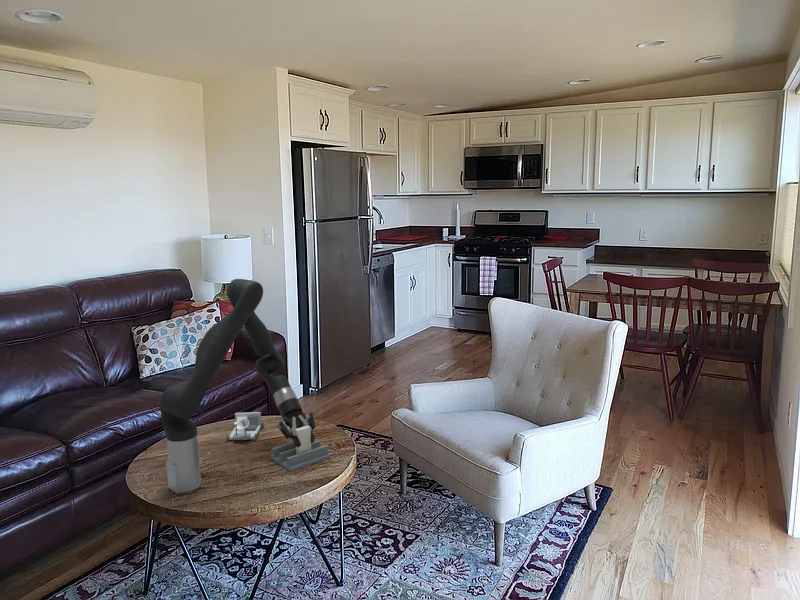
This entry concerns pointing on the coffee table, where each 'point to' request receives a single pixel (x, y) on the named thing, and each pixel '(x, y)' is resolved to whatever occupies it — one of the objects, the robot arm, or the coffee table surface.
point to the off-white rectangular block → (303, 439)
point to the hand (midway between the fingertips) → (306, 444)
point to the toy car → (246, 426)
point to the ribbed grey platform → (299, 455)
